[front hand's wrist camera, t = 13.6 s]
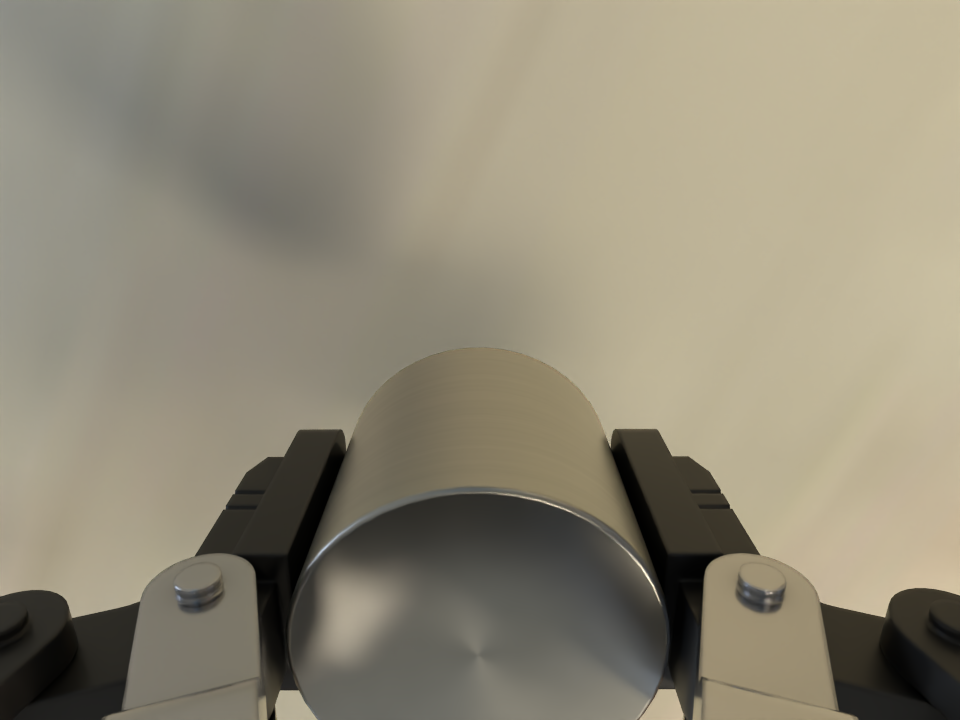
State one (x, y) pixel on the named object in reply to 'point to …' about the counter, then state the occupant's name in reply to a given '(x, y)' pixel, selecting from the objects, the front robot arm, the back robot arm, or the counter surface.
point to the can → (478, 558)
